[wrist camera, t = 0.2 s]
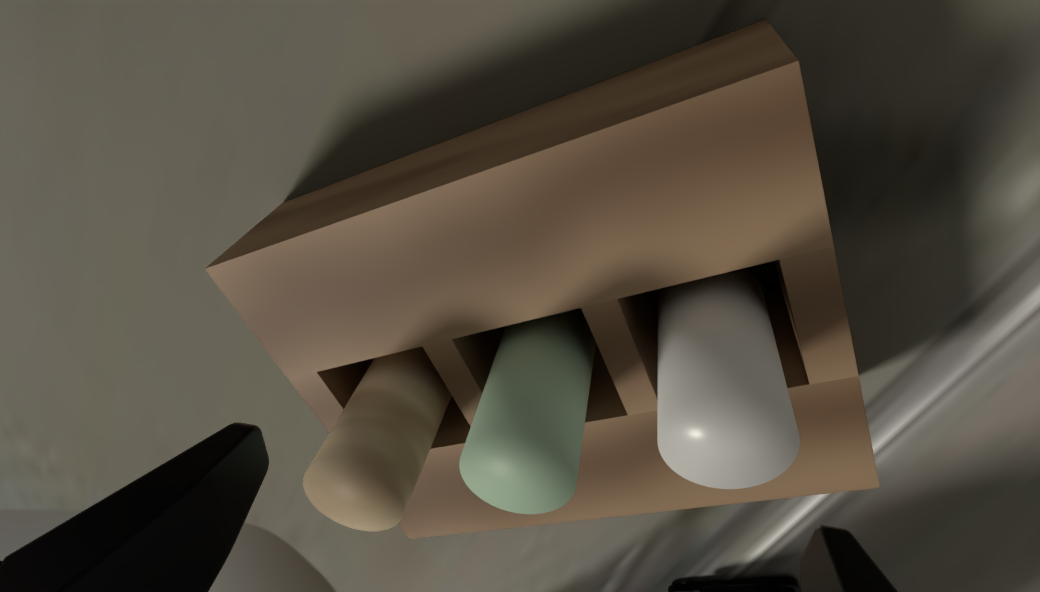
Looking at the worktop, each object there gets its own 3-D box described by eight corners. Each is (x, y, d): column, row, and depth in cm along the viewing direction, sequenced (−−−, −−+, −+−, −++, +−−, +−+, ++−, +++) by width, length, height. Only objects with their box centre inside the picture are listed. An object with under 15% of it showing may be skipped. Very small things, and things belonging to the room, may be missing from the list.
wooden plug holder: (841, 383, 24) (879, 487, 20) (442, 450, 30) (409, 538, 26) (765, 18, 17) (798, 60, 13) (282, 203, 24) (204, 268, 20)
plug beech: (471, 392, 24) (422, 525, 19) (402, 406, 25) (338, 535, 20) (433, 327, 22) (369, 453, 17) (362, 345, 23) (282, 468, 18)
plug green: (608, 365, 22) (593, 507, 17) (525, 382, 23) (488, 519, 18) (576, 292, 20) (549, 423, 15) (490, 313, 21) (439, 442, 16)
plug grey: (773, 330, 20) (810, 480, 15) (673, 351, 21) (677, 496, 16) (751, 246, 18) (785, 381, 13) (645, 273, 19) (640, 406, 14)
